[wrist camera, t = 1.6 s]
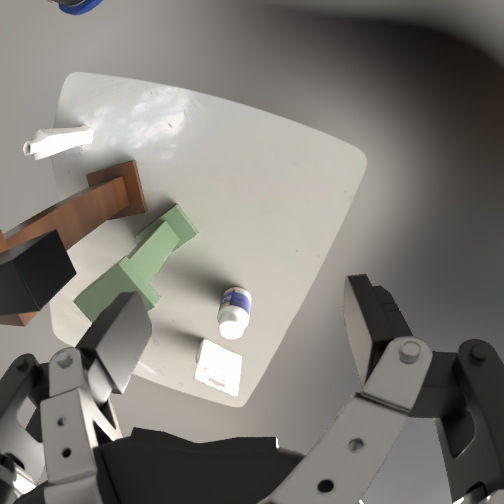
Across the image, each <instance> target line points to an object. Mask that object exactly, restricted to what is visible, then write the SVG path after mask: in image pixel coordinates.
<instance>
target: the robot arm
mask: <svg viewBox="0 0 504 504" xmlns="http://www.w3.org/2000/svg"><path fill="white" fill-rule="evenodd" d="M48 1H49V2H52V1H55V2H57V3H60V4H62V5H65V6H67V7H77V6H79V5H81V4H83V3H85V2H86V1H87V0H48ZM344 322H345V327H346V330H347V334H348V338H349V342H350V345H351V349H352V352H353V356H354V360H355V364H356V368H357V372H358V376H359V380H360V384H361V388H362V390H361V391H360V393H358V392H355V393H353V394H352V396H351V397H350V398H349V399H348V401H347V402H346V404H345V405H344V407H343V408H342V409H341V411H340V412H339V414H338V415H337V416H336V418H335V419H334V421H333V422H332V423H331V425H330V426H329V427H328V428H327V430H326V431H325V432H324V434H323V435H322V436H321V437H320V439H319V440H318V441H317V442H316V444H315V445H314V446H313V447H312V449H311V450H310V451H309V452H308V453H307V455H304V454H302V453H299V452H297V451H294V450H291V449H287V448H283V447H278V443H277V437H236V438H231V439H225V440H219V441H213V442H207V443H193V442H191V441H188V440H185V439H182V438H179V437H177V436H174V435H171V434H168V433H166V432H161V431H155V430H148V429H141V428H136V427H134V428H133V430H132V434H131V436H129V437H123V434H122V432H121V429H120V426H119V423H118V420H117V417H116V414H115V411H114V408H113V404H112V401H111V400H110V399H109V395H110V393H115V394H123V392H124V390H125V388H126V386H127V384H128V382H129V379H130V378H131V375H132V373H133V371H134V369H135V367H136V365H137V363H138V361H139V359H140V357H141V355H142V353H143V351H144V349H145V347H146V345H147V343H148V341H149V339H150V337H151V334H152V324H151V321H150V318H149V316H148V313H147V310H146V308H145V305H144V302H143V300H142V297H141V295H140V293H139V292H137V291H132V292H120V293H119V294H118V295H117V297H116V298H115V299H114V301H113V302H112V303H111V304H110V305H109V306H108V307H106V308H105V309H104V310H103V311H102V312H101V313H100V314H99V315H98V317H97V318H96V321H94V322H93V323H92V325H91V327H90V328H89V329H88V330H87V332H86V333H85V334H84V336H83V337H82V338H81V340H80V341H79V343H78V344H77V345H76V347H75V348H74V347H68V348H64V349H62V350H60V351H58V352H57V353H56V354H55V355H54V356H53V357H52V358H51V360H50V362H49V363H42V364H39V363H38V361H37V360H36V358H35V357H34V355H32V354H24V355H21V356H19V357H18V358H17V359H15V360H14V362H13V363H12V364H11V365H10V367H9V369H8V370H7V371H6V373H5V374H4V375H3V377H2V378H1V380H0V504H364V503H363V502H361V501H360V500H361V498H362V497H363V495H364V494H365V492H366V491H367V489H368V488H369V486H370V485H371V483H372V481H373V480H374V478H375V477H376V475H377V473H378V472H379V470H380V469H381V467H382V465H383V464H384V462H385V460H386V459H387V457H388V455H389V453H390V452H391V450H392V448H393V446H394V444H395V442H396V440H397V438H398V437H399V435H400V433H401V430H402V429H403V427H404V424H405V422H406V421H407V419H408V417H417V418H433V419H434V423H435V426H436V430H437V434H438V437H439V441H440V445H441V449H442V453H443V458H444V462H445V467H446V471H447V476H448V481H449V486H450V492H451V498H452V504H504V364H503V363H502V361H501V359H500V358H499V356H498V354H497V352H496V351H495V349H494V348H493V347H492V346H491V345H490V344H489V343H487V342H485V341H482V340H478V339H471V340H467V341H465V342H464V343H462V344H461V345H460V347H459V349H458V352H457V353H449V352H435V351H432V349H431V347H430V346H429V345H428V344H427V343H426V342H425V341H424V340H422V339H420V338H417V337H414V336H413V335H412V333H411V331H410V329H409V327H408V325H407V323H406V321H405V319H404V317H403V315H402V314H401V312H400V311H399V308H398V306H397V304H395V301H394V299H393V297H392V295H391V294H390V292H388V291H387V290H386V289H384V288H383V287H382V286H373V287H372V285H371V283H370V281H369V279H368V277H367V275H366V274H359V275H351V276H346V277H345V292H344ZM26 397H28V398H29V399H30V400H31V402H32V403H33V404H34V405H35V406H36V410H35V412H34V414H33V415H32V418H31V419H30V421H29V423H28V425H27V427H26V429H24V428H23V427H21V425H20V424H19V422H18V419H17V415H18V412H19V410H20V408H21V406H22V405H23V403H24V401H25V399H26ZM45 464H46V470H47V476H48V480H47V481H45V482H44V483H42V484H40V485H38V482H39V479H40V477H41V474H42V471H43V469H44V467H45ZM37 485H38V486H37Z"/></svg>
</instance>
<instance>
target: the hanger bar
mask: <svg viewBox="0 0 504 504" xmlns="http://www.w3.org/2000/svg"><path fill="white" fill-rule="evenodd" d="M75 275H76V271H75V269H74V267H73V265H72V262H71V260H70V258H69V256H68V254H67V251H66V249H65V247H64V245H63V242H62V240H61V237H60V235H59V233H58V230H57V229H54V230H52V231H50V232H47V233H45V234H42V235H40V236H38V237H35V238H33V239H31V240H28V241H26V242H24V243H21V244H19V245H17V246H15V247H13V248H10V249H8V250H6V251H4V252H2V253H0V316H5V315H13V314H21V313H29V312H37V311H40V310H41V309H42V308H43V307H44V306H45V305H46V304H47V303H48V302H49V301H50V300H51V299H52V298H53V297H54V296H55V295H56V294H57V293H58V292H59V291H60V290H61V289H62V288H63V287H64V286H65V285H66V284H67V283H68V282H69V281H70V280H71V279H72V278H73V277H74V276H75Z"/></svg>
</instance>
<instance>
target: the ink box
mask: <svg viewBox="0 0 504 504" xmlns="http://www.w3.org/2000/svg"><path fill="white" fill-rule="evenodd" d="M241 359H242V357H241V356H239V355H237V354H235V353H233V352H231V351H229V350H226V349H224V348H222V347H220V346H218V345H216V344H214V343H212V342H210V341H208V340H206V339H203V341H202V342H201V344H200V345H199V348H198V351H197V355H196V362H197V363H198V364H197V368H196V371H195V375H194V377H193V378H194V379H196V380H198V381H200V382H203V383H205V384H207V385H209V386H212V387H214V388H216V389H219V390H221V391H223V392H226V393H228V394H230V395H233V396H235V397H237V393H238V384H239V379H240V371H241ZM208 378H212V379H214V380H216V381H218V382H220V383H223V384H224V385H225V387H221V386H215V385H214V383H213V382H210V381H209V380H208Z"/></svg>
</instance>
